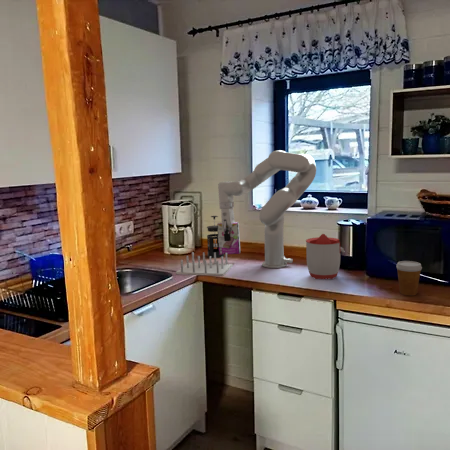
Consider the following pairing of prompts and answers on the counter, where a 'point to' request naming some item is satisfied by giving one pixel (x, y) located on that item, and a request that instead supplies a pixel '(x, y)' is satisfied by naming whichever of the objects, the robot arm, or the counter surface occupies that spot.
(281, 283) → the counter surface
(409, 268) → the disposable coffee cup
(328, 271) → the citrus juicer
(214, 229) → the french press
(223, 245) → the candy bar box
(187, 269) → the dish rack
